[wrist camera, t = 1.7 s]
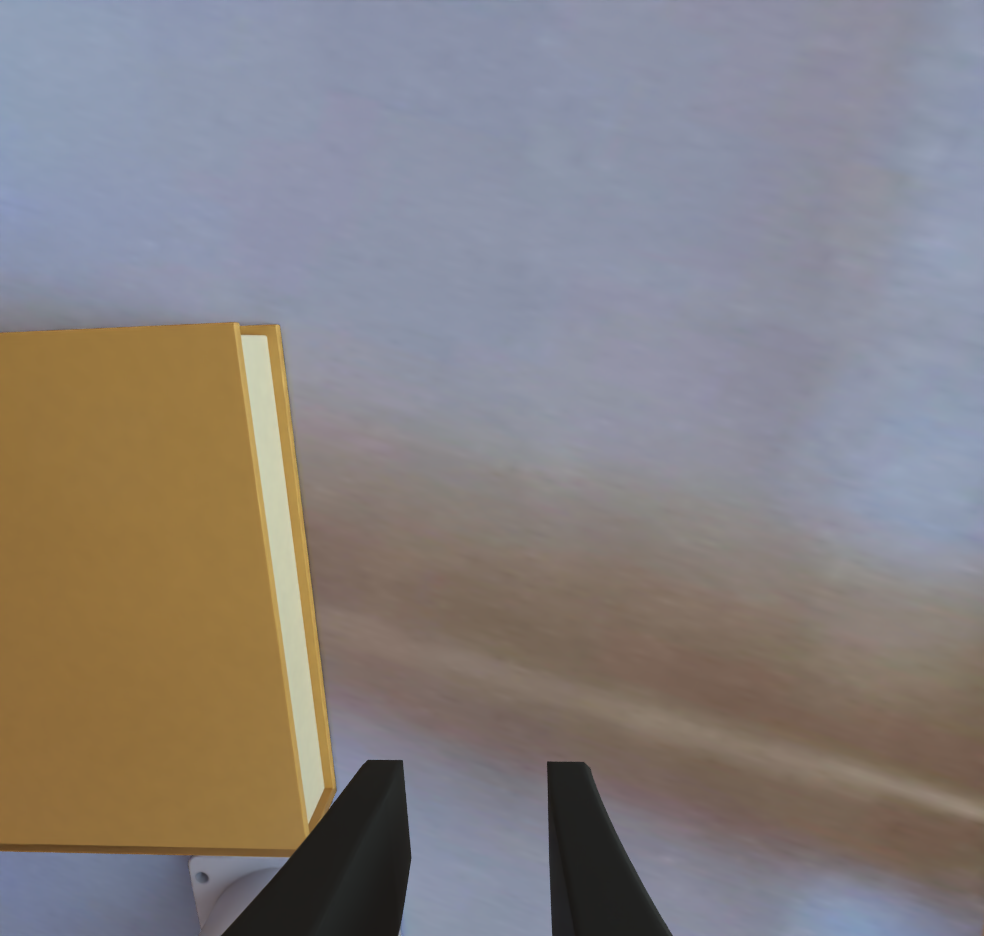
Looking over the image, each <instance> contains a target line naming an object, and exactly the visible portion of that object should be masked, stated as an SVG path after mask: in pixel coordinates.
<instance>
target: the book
mask: <svg viewBox="0 0 984 936" xmlns="http://www.w3.org/2000/svg"><path fill="white" fill-rule="evenodd" d="M336 791H337V790H336V782H335V774H334V766H333V757H332V749H331V741H330V733H329V725H328V716H327V708H326V700H325V692H324V684H323V675H322V667H321V659H320V651H319V643H318V634H317V626H316V618H315V610H314V602H313V593H312V585H311V577H310V569H309V561H308V552H307V544H306V536H305V528H304V520H303V511H302V503H301V495H300V487H299V479H298V470H297V462H296V454H295V446H294V438H293V429H292V421H291V413H290V405H289V397H288V388H287V380H286V372H285V364H284V356H283V347H282V339H281V331H280V325H253V326H239V323H238V322H228V323H206V324H183V325H161V326H139V327H117V328H94V329H72V330H50V331H27V332H5V333H0V851H14V852H60V853H106V854H153V855H199V856H245V857H291V856H292V854H293V853H294V852H295V851H296V850H297V848H298V847H299V846H300V845H301V843H302V842H303V841H304V840H305V839H306V837H307V836H308V835H309V834H310V833H311V831H312V830H313V829H314V828H315V826H316V825H317V824H318V823H319V821H320V820H321V819H322V817H323V816H324V815H325V814H326V812H327V811H328V810H329V807H330V805H331V803H332V800H333V798H334V796H335V793H336Z"/></svg>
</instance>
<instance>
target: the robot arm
mask: <svg viewBox="0 0 984 936" xmlns="http://www.w3.org/2000/svg"><path fill="white" fill-rule="evenodd" d="M547 774H548V821H549V865H550V890H551V916H552V936H673V935H672V934H671V932H670V930H669V929H668V927H667V925H666V924H665V922H664V920H663V919H662V917H661V915H660V914H659V912H658V910H657V908H656V907H655V905H654V903H653V901H652V900H651V898H650V896H649V894H648V893H647V891H646V889H645V887H644V885H643V883H642V882H641V880H640V878H639V876H638V874H637V872H636V870H635V868H634V866H633V865H632V863H631V861H630V859H629V857H628V855H627V853H626V851H625V849H624V847H623V845H622V843H621V841H620V839H619V837H618V835H617V833H616V831H615V829H614V827H613V825H612V822H611V820H610V818H609V816H608V814H607V812H606V809H605V807H604V805H603V802H602V800H601V797H600V795H599V792H598V790H597V787H596V784H595V782H594V779H593V776H592V773H591V769H590V768H589V767H588V766H587V765H586V764H585V763H584V762H547ZM410 863H411V848H410V837H409V826H408V815H407V803H406V792H405V781H404V770H403V760H368V761H366V762H365V763H364V764H363V765H362V767H361V768H360V769H359V771H358V772H357V773H356V774H355V776H354V777H353V778H352V780H351V781H350V782H349V784H348V785H347V786H346V788H345V789H344V790H343V792H342V793H341V794H340V796H339V797H338V798H337V800H336V801H335V802H334V803H333V805H332V806H331V807H330V809H329V810H328V811H327V812H326V814H325V815H324V816H323V817H322V819H321V820H320V821H319V823H318V824H317V825H316V826H315V828H314V829H313V830H312V831H311V833H310V834H309V835H308V836H307V837H306V839H305V840H304V841H303V842H302V843H301V845H300V846H299V847H298V848H297V850H296V851H295V852H294V853H293V854H292V856H291V857H245V856H199V855H192V856H191V858H190V860H189V861H188V868H189V873H190V878H191V883H192V888H193V893H194V898H195V903H196V908H197V913H198V918H199V923H200V928H201V932H200V933H199V935H198V936H401V927H400V926H401V920H402V914H403V908H404V902H405V896H406V890H407V883H408V876H409V870H410Z"/></svg>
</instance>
